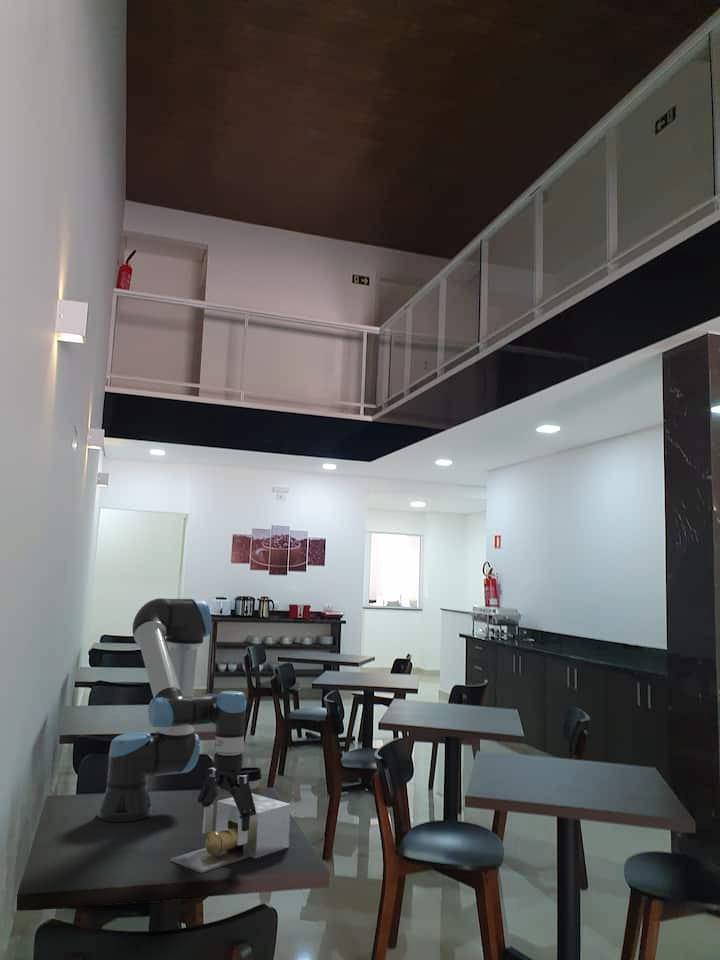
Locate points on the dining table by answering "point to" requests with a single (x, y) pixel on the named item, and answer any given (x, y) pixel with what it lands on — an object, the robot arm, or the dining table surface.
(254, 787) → the coffee cup
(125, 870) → the dining table surface
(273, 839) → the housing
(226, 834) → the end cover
